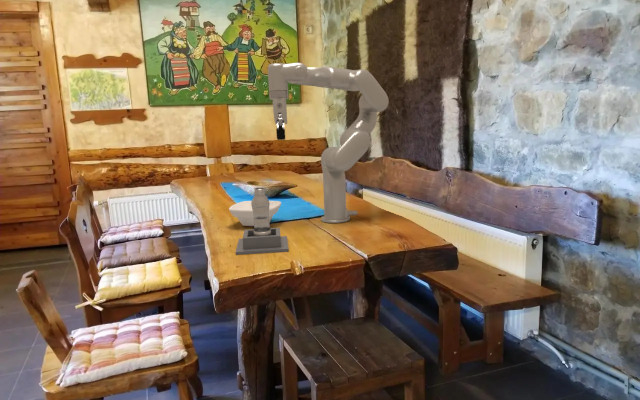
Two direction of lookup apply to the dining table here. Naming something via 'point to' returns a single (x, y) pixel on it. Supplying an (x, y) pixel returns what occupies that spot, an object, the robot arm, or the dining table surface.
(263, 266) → the dining table surface
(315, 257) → the dining table surface
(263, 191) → the plastic bottle
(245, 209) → the bowl
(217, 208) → the dining table surface
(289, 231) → the dining table surface
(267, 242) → the gray square tray
